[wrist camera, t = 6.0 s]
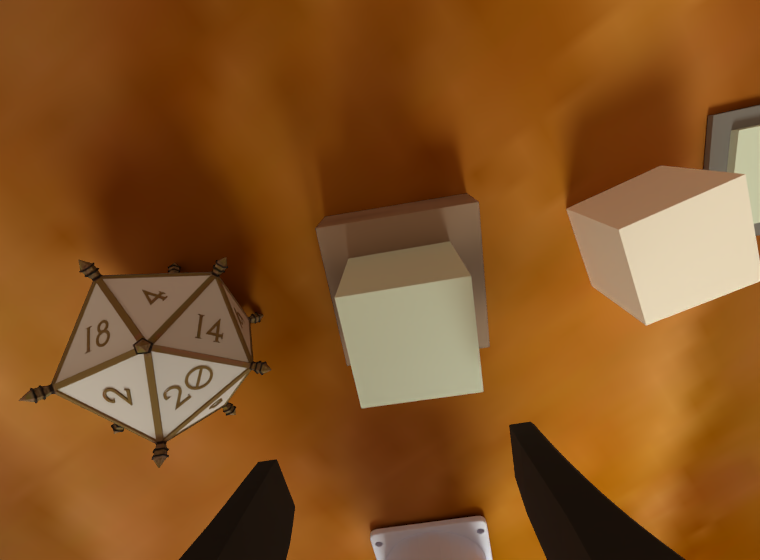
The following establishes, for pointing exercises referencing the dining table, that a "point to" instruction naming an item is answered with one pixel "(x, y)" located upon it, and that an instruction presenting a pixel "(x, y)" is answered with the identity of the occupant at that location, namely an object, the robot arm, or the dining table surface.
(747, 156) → the tile
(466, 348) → the sage cube
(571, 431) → the dining table surface
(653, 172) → the cream cube
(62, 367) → the game die
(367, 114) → the dining table surface
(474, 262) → the walnut base
